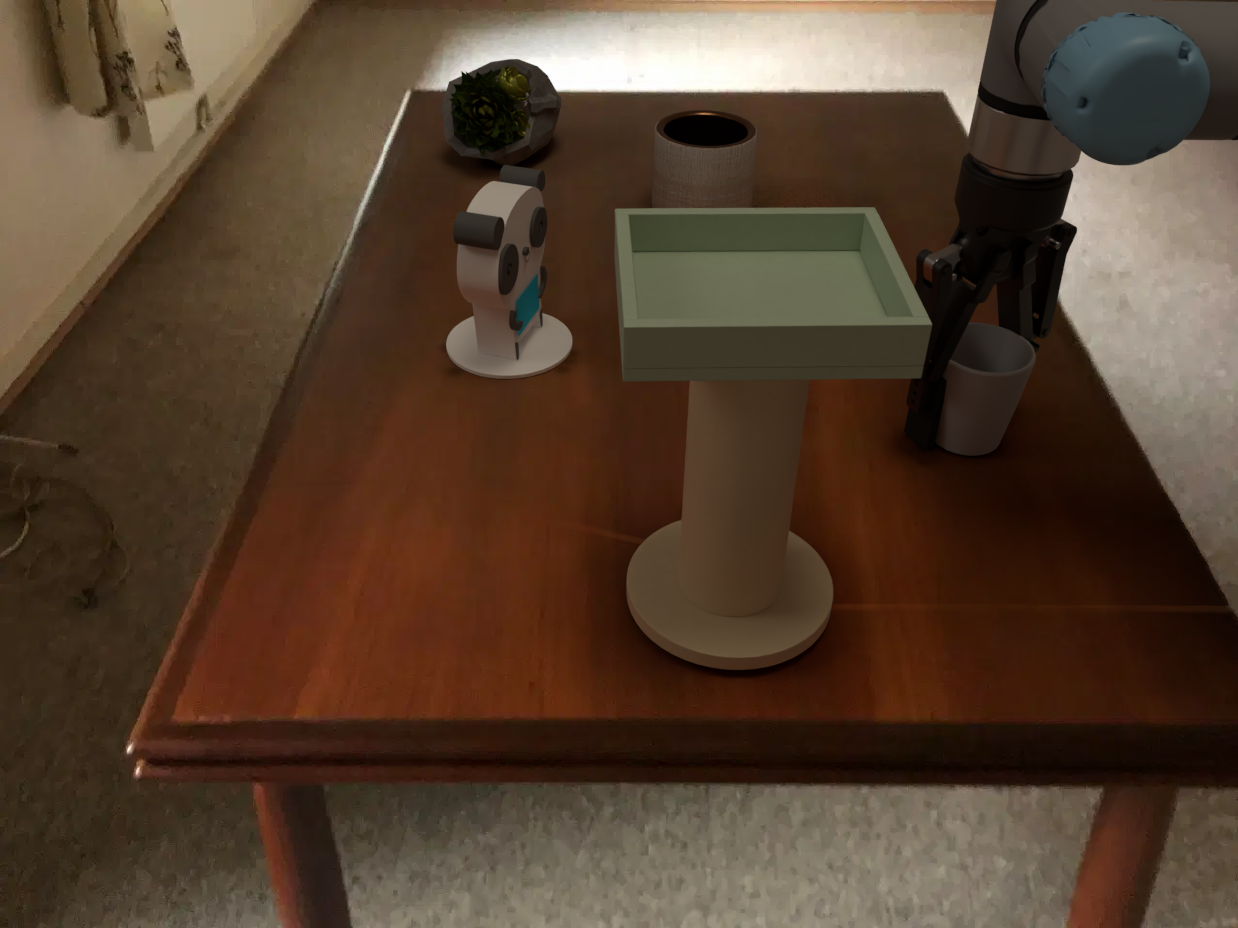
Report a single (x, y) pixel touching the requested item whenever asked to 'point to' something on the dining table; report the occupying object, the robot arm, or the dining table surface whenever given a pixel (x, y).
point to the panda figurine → (505, 282)
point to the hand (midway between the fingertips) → (953, 426)
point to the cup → (983, 388)
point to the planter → (703, 160)
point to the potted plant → (501, 111)
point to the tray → (751, 404)
